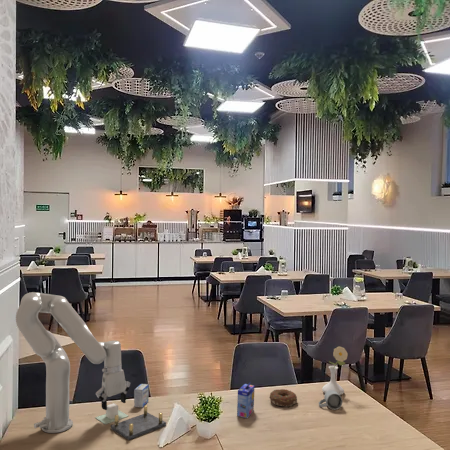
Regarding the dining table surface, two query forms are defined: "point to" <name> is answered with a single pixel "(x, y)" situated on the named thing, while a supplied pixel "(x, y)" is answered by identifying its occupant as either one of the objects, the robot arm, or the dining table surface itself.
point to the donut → (283, 397)
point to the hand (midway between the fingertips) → (114, 405)
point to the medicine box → (141, 395)
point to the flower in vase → (333, 385)
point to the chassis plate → (138, 425)
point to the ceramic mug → (331, 400)
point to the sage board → (106, 420)
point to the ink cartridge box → (245, 400)
